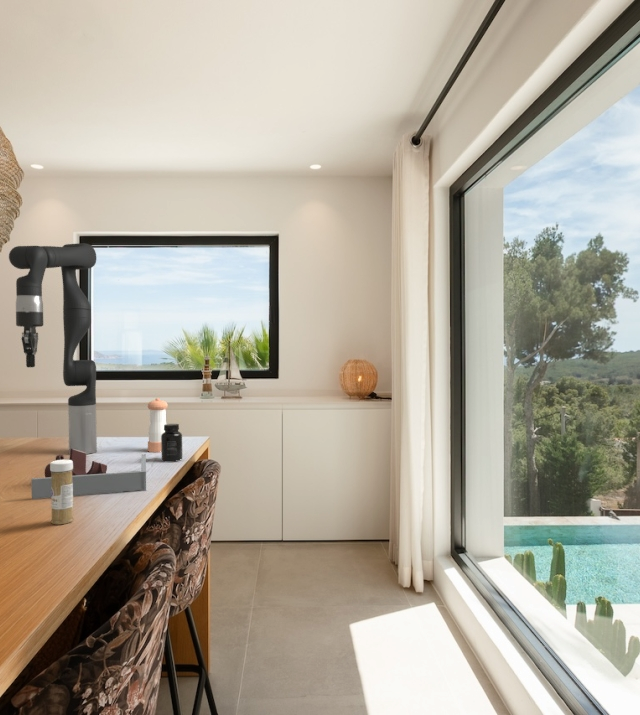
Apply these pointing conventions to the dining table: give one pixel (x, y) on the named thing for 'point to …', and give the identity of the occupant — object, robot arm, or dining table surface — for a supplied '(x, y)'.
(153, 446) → the pepper shaker
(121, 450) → the dining table surface
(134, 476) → the angled bar
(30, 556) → the dining table surface
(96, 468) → the bracket
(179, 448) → the supplement bottle
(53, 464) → the sprinkles bottle
